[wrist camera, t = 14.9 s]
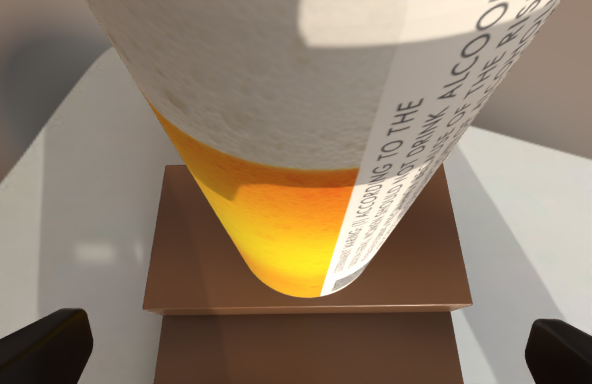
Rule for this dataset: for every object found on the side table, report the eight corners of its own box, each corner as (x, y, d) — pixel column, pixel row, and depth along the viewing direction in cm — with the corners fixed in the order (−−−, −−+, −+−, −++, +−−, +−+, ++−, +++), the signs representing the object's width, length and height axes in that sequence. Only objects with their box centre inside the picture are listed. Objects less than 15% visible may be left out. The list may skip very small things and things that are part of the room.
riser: (464, 479, 16) (519, 521, 12) (156, 482, 16) (106, 524, 12) (416, 196, 22) (442, 160, 18) (190, 200, 22) (165, 164, 18)
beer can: (308, 151, 18) (330, -467, 4) (400, 235, 16) (930, -404, 3) (213, 228, 16) (-213, -381, 3) (303, 332, 15) (327, -8, 1)
